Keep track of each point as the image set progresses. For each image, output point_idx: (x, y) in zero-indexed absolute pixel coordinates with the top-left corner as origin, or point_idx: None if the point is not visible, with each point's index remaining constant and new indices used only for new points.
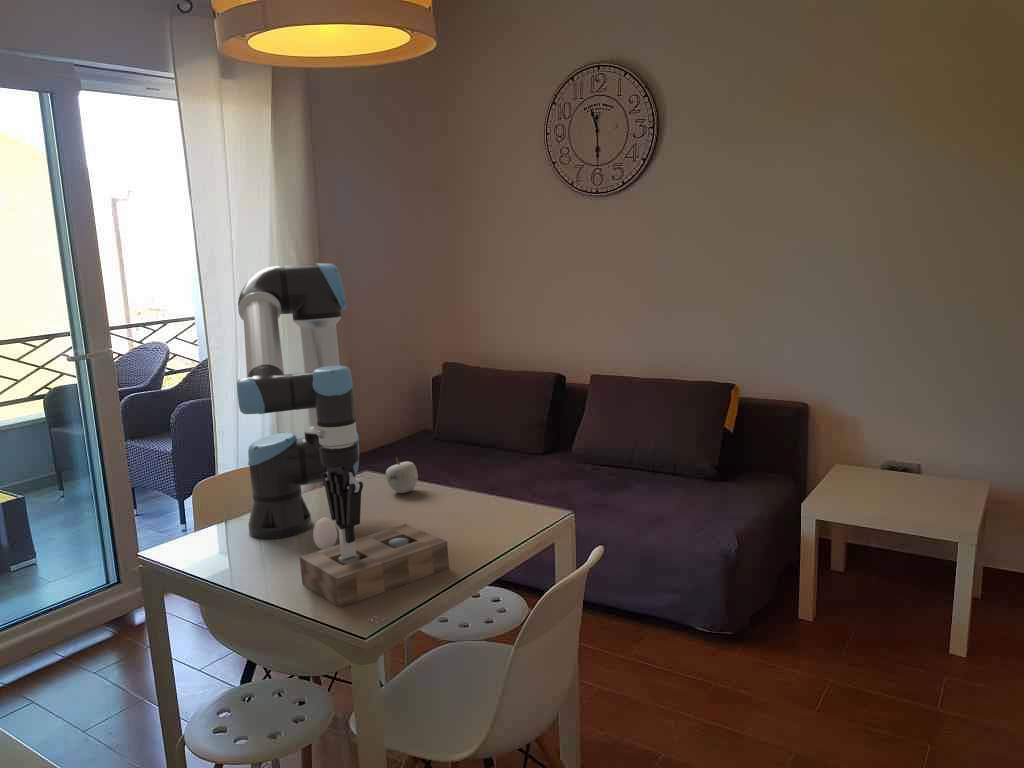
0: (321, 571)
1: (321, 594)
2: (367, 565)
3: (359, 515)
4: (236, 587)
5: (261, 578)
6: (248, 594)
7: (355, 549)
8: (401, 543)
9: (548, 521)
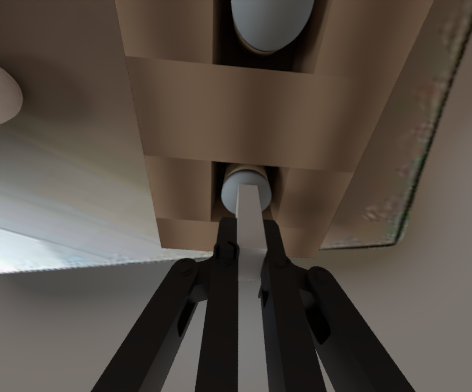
0: None
1: None
2: (326, 199)
3: (357, 315)
4: (125, 259)
5: (112, 233)
6: (159, 260)
7: (257, 194)
8: (300, 7)
9: None
